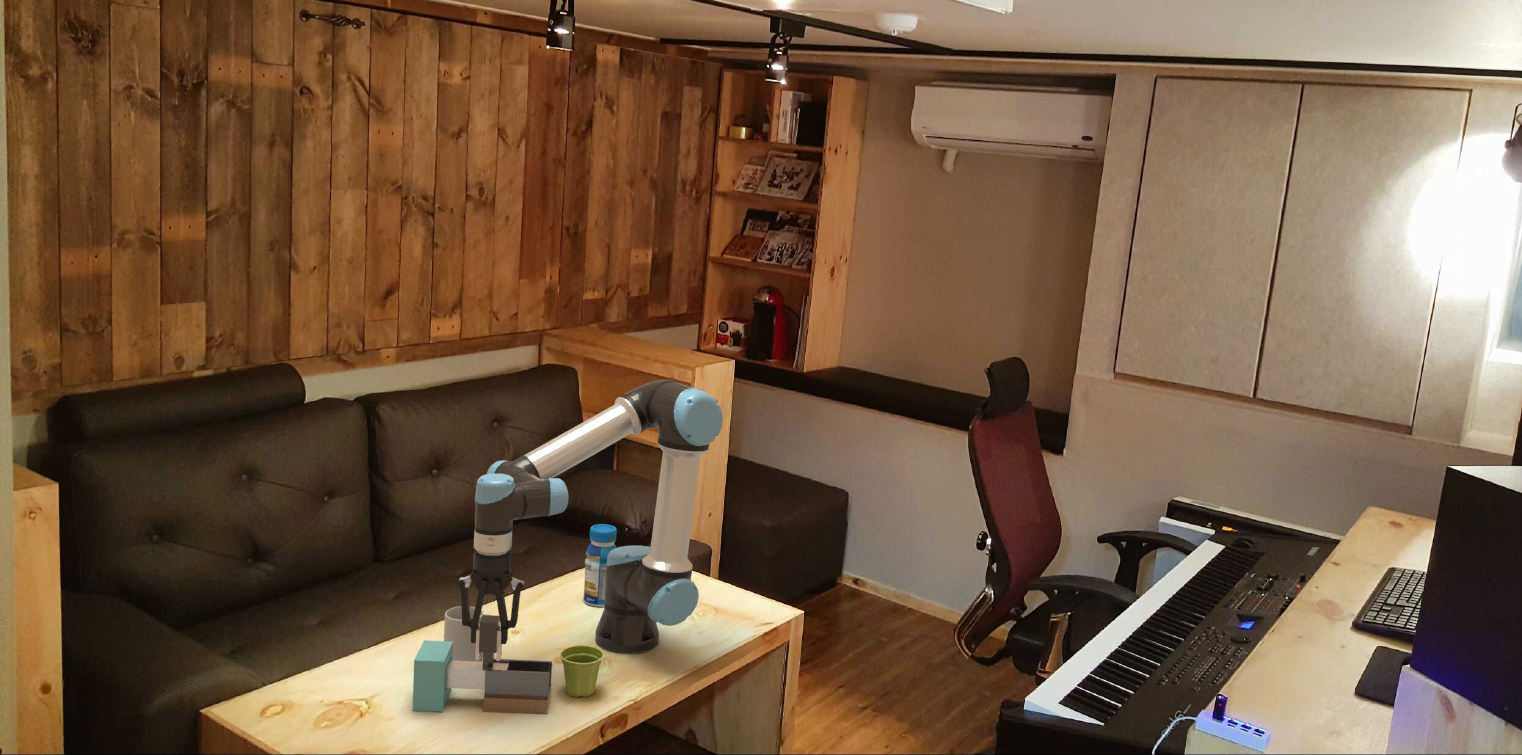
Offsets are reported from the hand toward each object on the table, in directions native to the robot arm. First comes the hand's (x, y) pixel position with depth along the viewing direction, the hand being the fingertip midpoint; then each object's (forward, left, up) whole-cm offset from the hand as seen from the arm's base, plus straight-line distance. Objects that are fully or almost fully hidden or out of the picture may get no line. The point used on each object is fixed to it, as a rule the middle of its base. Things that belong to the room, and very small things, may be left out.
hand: (488, 657), depth 249 cm
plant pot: (-19, -7, -10) cm, 23 cm away
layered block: (-6, 0, -10) cm, 12 cm away
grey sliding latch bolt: (+4, 0, -6) cm, 7 cm away
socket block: (+11, 0, -10) cm, 15 cm away
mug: (+7, -22, -10) cm, 25 cm away
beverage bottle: (-20, -59, -10) cm, 63 cm away
